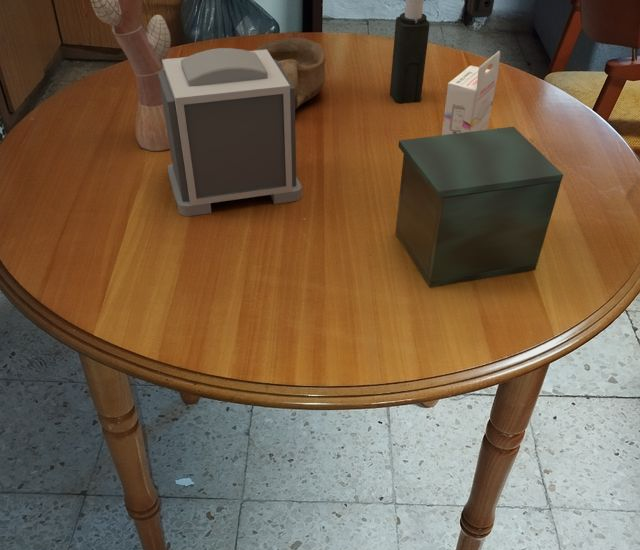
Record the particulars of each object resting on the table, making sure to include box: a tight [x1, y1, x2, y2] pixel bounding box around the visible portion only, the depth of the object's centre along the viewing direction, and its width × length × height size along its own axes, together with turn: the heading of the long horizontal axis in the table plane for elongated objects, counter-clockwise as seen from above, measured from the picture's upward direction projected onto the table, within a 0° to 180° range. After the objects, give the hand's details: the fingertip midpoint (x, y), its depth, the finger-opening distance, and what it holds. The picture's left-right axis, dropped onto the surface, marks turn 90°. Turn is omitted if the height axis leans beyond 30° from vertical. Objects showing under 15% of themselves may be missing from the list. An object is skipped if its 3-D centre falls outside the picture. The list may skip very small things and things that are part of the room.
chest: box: [394, 154, 562, 288], centre depth 87 cm, size 15×13×12 cm
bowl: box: [254, 36, 326, 110], centre depth 120 cm, size 18×14×10 cm
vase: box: [90, 0, 172, 152], centre depth 101 cm, size 10×7×30 cm
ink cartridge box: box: [441, 50, 501, 135], centre depth 106 cm, size 9×5×15 cm, turn 148°
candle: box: [389, 0, 431, 104], centre depth 116 cm, size 5×5×25 cm
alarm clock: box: [158, 47, 303, 217], centre depth 96 cm, size 18×13×18 cm
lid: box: [398, 126, 564, 198], centre depth 82 cm, size 16×13×1 cm
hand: (478, 14), depth 70 cm, fingers closed
